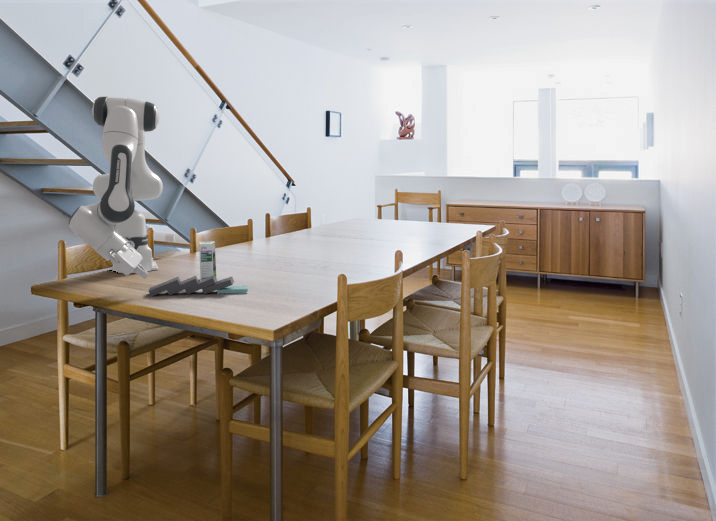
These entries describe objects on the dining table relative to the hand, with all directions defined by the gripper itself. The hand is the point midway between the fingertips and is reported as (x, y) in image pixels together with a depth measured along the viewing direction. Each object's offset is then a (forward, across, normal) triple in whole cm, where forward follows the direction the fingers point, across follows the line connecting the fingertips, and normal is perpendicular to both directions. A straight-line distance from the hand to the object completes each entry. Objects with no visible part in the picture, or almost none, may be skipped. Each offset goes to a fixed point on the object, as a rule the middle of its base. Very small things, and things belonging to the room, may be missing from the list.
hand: (146, 276), depth 191 cm
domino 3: (+13, 0, -5) cm, 14 cm away
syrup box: (+18, +20, -9) cm, 28 cm away
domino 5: (+20, 0, -12) cm, 24 cm away
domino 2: (+9, 0, -1) cm, 9 cm away
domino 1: (+4, 0, +3) cm, 6 cm away
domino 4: (+17, 0, -9) cm, 19 cm away
